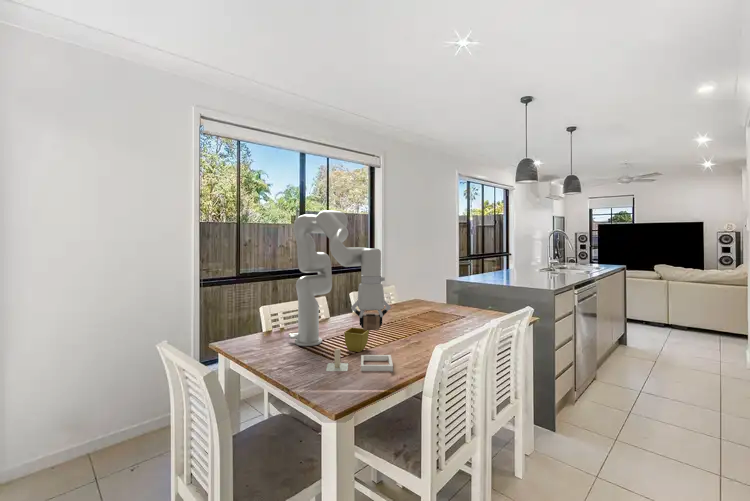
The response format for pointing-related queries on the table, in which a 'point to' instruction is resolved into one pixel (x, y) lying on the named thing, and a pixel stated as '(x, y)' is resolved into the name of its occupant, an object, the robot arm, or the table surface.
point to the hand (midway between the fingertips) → (370, 326)
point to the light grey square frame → (376, 367)
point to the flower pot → (356, 339)
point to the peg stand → (337, 363)
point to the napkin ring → (371, 322)
